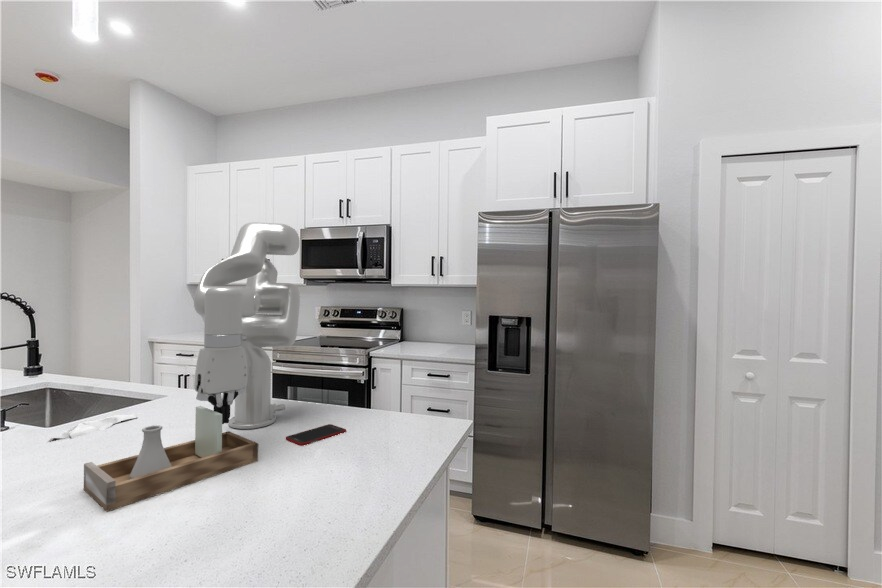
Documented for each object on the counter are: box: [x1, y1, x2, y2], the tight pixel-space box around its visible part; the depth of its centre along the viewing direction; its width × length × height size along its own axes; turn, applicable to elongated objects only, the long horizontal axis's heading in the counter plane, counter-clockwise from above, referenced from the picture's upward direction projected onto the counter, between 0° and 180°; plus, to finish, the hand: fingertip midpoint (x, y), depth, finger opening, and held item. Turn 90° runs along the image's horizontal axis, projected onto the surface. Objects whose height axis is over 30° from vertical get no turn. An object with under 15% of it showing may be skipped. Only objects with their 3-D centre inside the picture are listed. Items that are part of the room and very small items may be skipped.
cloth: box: [46, 412, 143, 444], centre depth 117 cm, size 26×14×2 cm, turn 155°
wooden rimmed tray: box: [83, 431, 259, 512], centre depth 88 cm, size 28×13×5 cm, turn 144°
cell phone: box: [285, 423, 347, 447], centre depth 113 cm, size 8×15×1 cm, turn 142°
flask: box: [128, 424, 172, 480], centre depth 85 cm, size 7×7×10 cm
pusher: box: [194, 405, 223, 458], centre depth 93 cm, size 1×10×11 cm, turn 54°
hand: (221, 422), depth 96 cm, fingers closed
